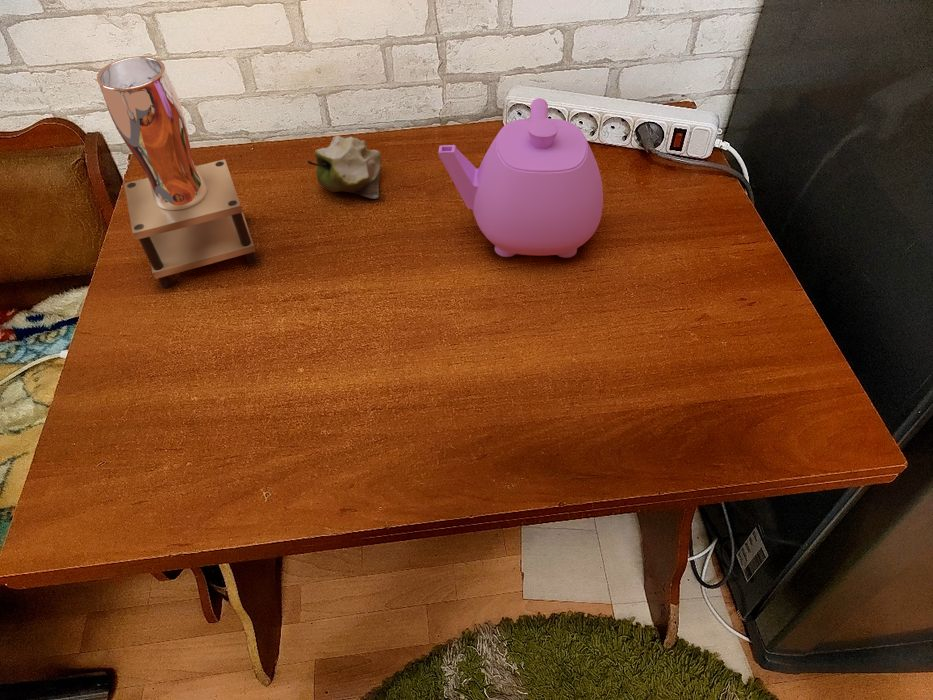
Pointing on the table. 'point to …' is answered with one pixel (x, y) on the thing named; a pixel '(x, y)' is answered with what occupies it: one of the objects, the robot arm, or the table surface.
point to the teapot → (532, 186)
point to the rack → (190, 226)
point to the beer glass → (153, 128)
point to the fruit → (349, 167)
